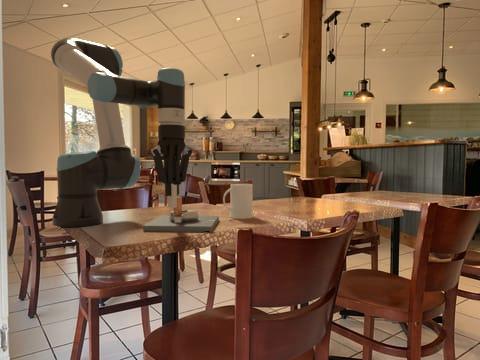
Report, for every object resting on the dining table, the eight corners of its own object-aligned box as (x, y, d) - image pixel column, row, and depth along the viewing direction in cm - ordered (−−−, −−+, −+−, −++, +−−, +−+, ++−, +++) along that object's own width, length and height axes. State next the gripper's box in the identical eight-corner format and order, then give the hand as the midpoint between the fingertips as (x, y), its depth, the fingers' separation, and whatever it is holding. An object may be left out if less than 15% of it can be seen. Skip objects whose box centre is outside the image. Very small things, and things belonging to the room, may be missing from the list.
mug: (227, 220, 126) (227, 185, 126) (217, 216, 134) (217, 184, 133) (257, 218, 132) (257, 184, 131) (246, 214, 139) (246, 183, 139)
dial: (173, 216, 121) (173, 192, 121) (200, 217, 121) (200, 193, 120) (161, 225, 107) (161, 197, 106) (192, 225, 106) (192, 198, 106)
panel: (143, 231, 107) (143, 225, 107) (161, 219, 127) (161, 214, 127) (211, 232, 106) (211, 226, 106) (218, 220, 126) (218, 215, 126)
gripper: (157, 122, 97) (158, 210, 99) (198, 125, 106) (198, 206, 107) (144, 124, 103) (145, 207, 104) (183, 127, 112) (184, 204, 113)
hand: (172, 206), depth 106 cm, fingers closed
